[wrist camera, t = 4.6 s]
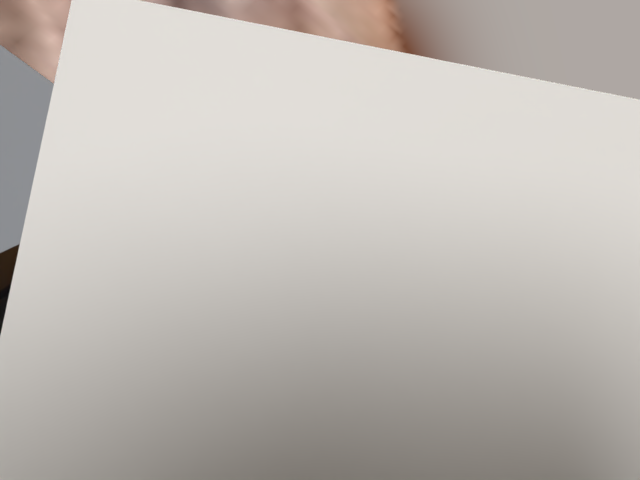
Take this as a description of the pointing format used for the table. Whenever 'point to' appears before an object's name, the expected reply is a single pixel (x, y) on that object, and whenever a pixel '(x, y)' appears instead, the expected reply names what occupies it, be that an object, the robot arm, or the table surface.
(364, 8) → the table surface
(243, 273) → the tall block
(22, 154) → the mat
